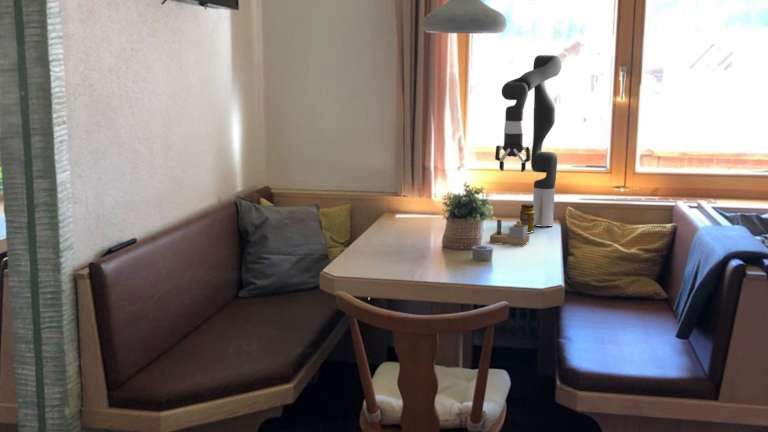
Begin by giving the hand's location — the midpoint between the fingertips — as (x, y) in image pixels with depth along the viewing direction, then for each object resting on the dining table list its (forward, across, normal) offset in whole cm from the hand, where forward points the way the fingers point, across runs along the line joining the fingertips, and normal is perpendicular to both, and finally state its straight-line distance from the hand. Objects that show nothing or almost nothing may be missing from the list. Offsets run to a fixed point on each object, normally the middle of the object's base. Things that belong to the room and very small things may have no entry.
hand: (512, 171), depth 332 cm
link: (+24, -6, +12) cm, 28 cm away
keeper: (+27, -3, +12) cm, 30 cm away
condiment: (+28, -4, -12) cm, 31 cm away
